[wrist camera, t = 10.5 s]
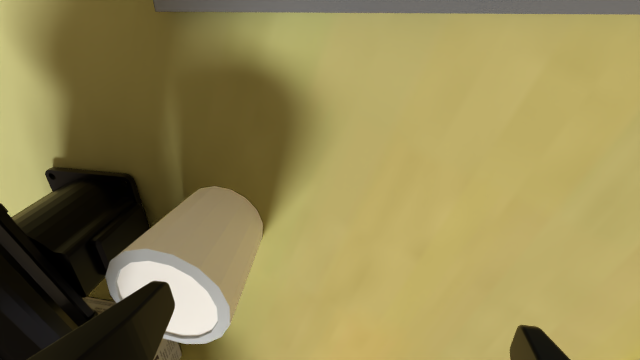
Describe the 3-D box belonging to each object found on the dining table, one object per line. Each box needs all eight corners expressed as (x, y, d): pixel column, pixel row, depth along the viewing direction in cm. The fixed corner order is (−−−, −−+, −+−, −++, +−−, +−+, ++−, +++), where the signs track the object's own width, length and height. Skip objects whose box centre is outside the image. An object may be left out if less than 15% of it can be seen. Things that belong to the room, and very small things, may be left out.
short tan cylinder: (160, 218, 25) (85, 294, 19) (206, 157, 22) (134, 225, 16) (237, 274, 26) (190, 362, 20) (292, 225, 23) (255, 311, 17)
